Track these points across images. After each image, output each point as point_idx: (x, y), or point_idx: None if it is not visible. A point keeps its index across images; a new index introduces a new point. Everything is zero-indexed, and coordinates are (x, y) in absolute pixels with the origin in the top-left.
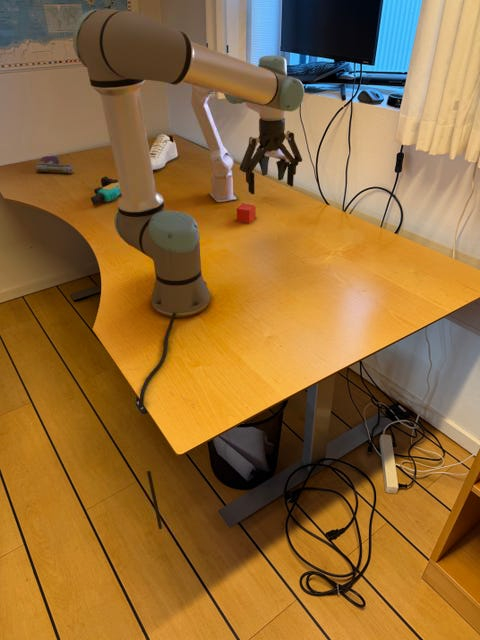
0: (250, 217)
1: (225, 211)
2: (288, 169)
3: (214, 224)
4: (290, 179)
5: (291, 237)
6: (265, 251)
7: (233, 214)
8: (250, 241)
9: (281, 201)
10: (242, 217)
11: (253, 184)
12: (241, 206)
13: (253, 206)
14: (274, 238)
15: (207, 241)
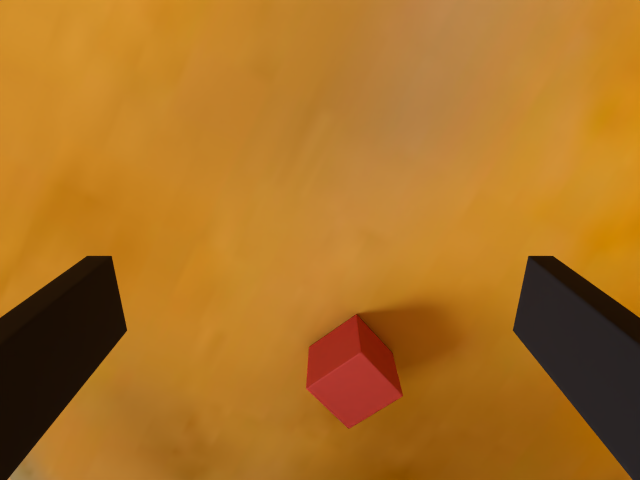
0: (348, 333)
1: (388, 440)
2: (14, 436)
3: (489, 364)
4: (74, 307)
5: (242, 103)
6: (438, 14)
7: None
8: (444, 154)
9: (138, 431)
10: (379, 349)
11: (607, 308)
12: (372, 403)
13: (319, 382)
14: (324, 132)
15: (609, 240)
